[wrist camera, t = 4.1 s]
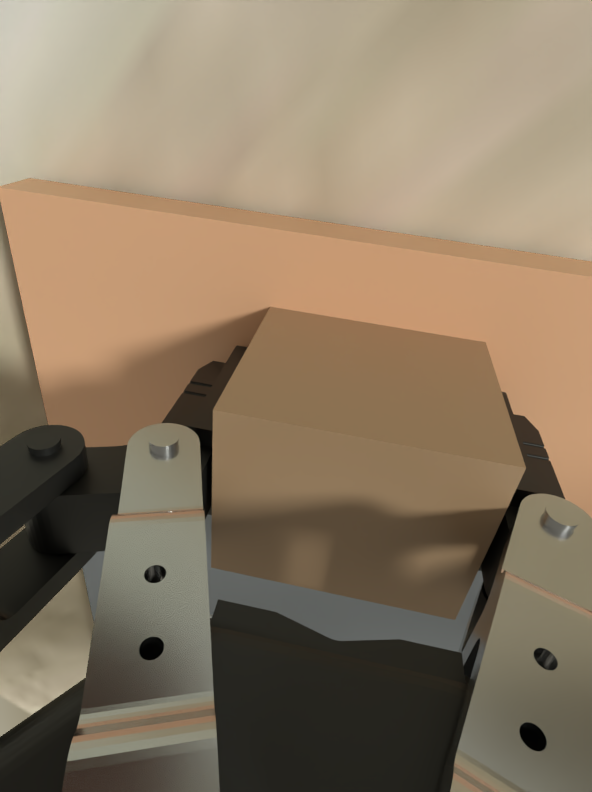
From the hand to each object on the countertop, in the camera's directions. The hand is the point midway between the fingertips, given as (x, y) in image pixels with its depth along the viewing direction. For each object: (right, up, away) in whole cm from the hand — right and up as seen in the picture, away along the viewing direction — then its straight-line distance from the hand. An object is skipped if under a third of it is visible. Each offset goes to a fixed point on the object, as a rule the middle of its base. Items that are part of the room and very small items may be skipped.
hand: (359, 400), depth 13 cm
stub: (0, +1, +1) cm, 1 cm away
